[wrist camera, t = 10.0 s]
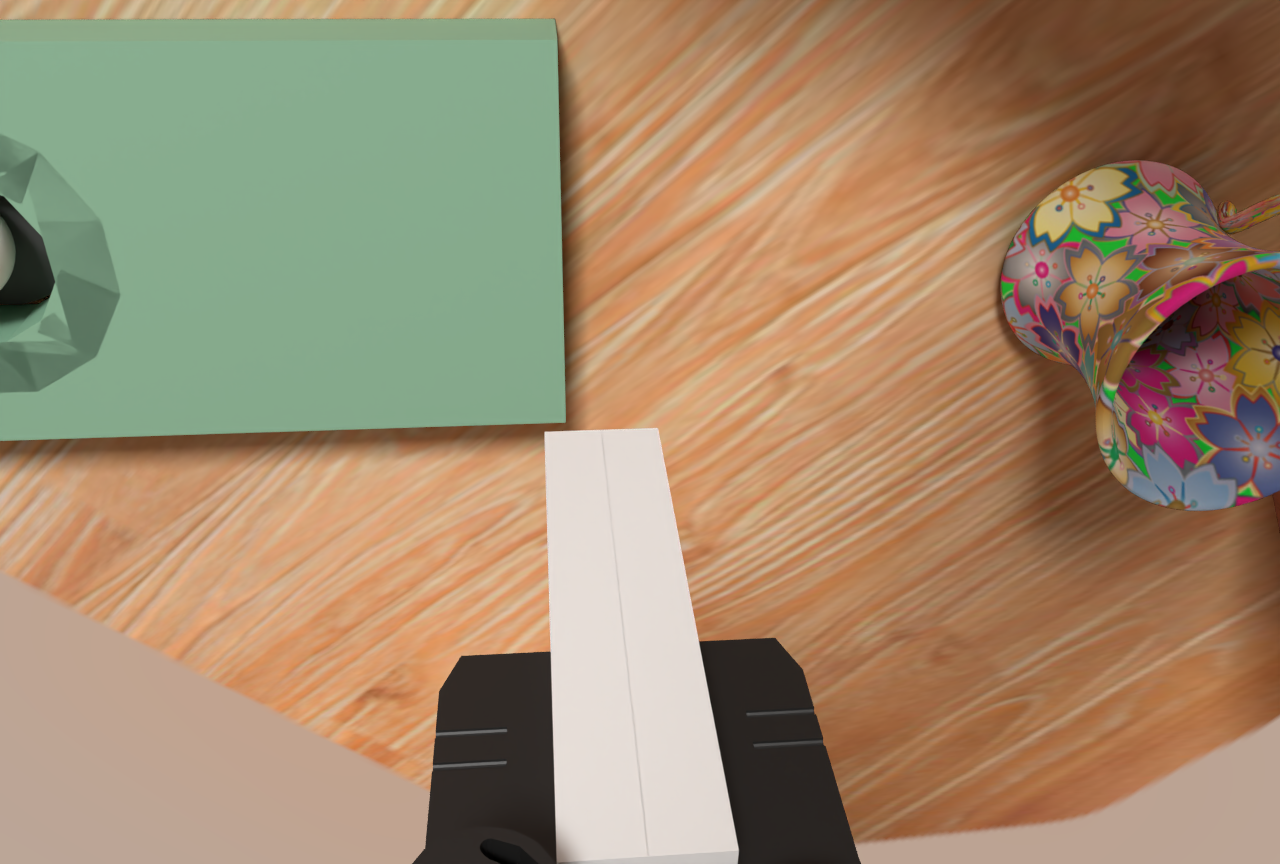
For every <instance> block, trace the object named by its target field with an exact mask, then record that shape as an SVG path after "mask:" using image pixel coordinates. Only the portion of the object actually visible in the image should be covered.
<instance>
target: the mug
mask: <svg viewBox="0 0 1280 864" xmlns="http://www.w3.org/2000/svg"><path fill="white" fill-rule="evenodd" d="M1278 214H1280V194H1278V195H1275V196H1273V197H1270V198H1268V199H1266V200H1263V201H1261V202H1259V203H1257V204H1255V205H1253V206H1251V207H1248V208H1246V209H1244V210H1242V211H1240V212H1238V213H1237V210H1236V208H1235V206H1234V205H1233V204H1232V203H1231V202H1230V201H1223V202H1221V204H1220V205H1219V208H1218V213H1216V210H1215V208H1214V205H1213V203H1212V201H1211V199H1210V198H1209V196H1208V194H1207V193H1206V191H1205V190H1204V189H1203V188H1202V186H1201V185H1200V184H1199V183H1198V182H1197V181H1196V180H1195V179H1193V178H1192V177H1191V176H1189V175H1188V174H1187V173H1185V172H1183V171H1181V170H1179V169H1177V168H1175V167H1172V166H1170V165H1166V164H1162V163H1158V162H1152V161H1142V160H1131V161H1121V162H1114V163H1110V164H1106V165H1102V166H1099V167H1096V168H1093V169H1091V170H1089V171H1086V172H1084V173H1082V174H1080V175H1078V176H1076V177H1074V178H1072V179H1070V180H1069V181H1067V182H1066V183H1064V184H1063V185H1061V186H1060V187H1058V188H1057V189H1056V190H1054V191H1053V192H1052V193H1050V194H1049V195H1048V196H1047V197H1046V198H1045V199H1044V200H1042V201H1041V202H1040V203H1039V204H1038V206H1037V207H1036V208H1035V209H1034V210H1033V211H1032V212H1031V213H1030V215H1029V216H1028V217H1027V218H1026V219H1025V221H1024V222H1023V224H1022V225H1021V227H1020V228H1019V230H1018V231H1017V233H1016V235H1015V237H1014V238H1013V241H1012V243H1011V245H1010V247H1009V249H1008V252H1007V255H1006V257H1005V261H1004V265H1003V269H1002V275H1001V299H1002V305H1003V309H1004V313H1005V316H1006V319H1007V321H1008V323H1009V325H1010V327H1011V329H1012V330H1013V332H1014V333H1015V335H1016V336H1017V337H1018V339H1019V340H1020V341H1021V342H1022V343H1023V344H1024V345H1026V346H1027V347H1028V348H1029V349H1031V350H1032V351H1034V352H1035V353H1037V354H1039V355H1041V356H1043V357H1045V358H1047V359H1049V360H1052V361H1055V362H1059V363H1063V364H1069V365H1072V366H1073V367H1074V368H1076V369H1077V370H1078V371H1079V373H1080V374H1081V375H1082V376H1083V378H1084V379H1085V381H1086V382H1087V384H1088V386H1089V388H1090V390H1091V393H1092V396H1093V399H1094V403H1095V410H1096V433H1097V440H1098V444H1099V448H1100V452H1101V454H1102V457H1103V459H1104V461H1105V463H1106V465H1107V467H1108V468H1109V470H1110V471H1111V473H1112V474H1113V475H1114V476H1115V478H1116V479H1117V480H1118V481H1119V482H1120V483H1121V484H1122V485H1123V486H1124V487H1125V488H1126V489H1128V490H1129V491H1130V492H1132V493H1133V494H1135V495H1137V496H1138V497H1140V498H1142V499H1144V500H1146V501H1149V502H1151V503H1153V504H1156V505H1159V506H1163V507H1166V508H1171V509H1177V510H1186V511H1208V510H1218V509H1224V508H1230V507H1234V506H1239V505H1243V504H1246V503H1249V502H1253V501H1256V500H1258V499H1261V498H1264V497H1266V496H1269V495H1271V494H1273V493H1276V492H1278V491H1280V251H1266V250H1261V249H1256V248H1253V247H1249V246H1247V245H1244V244H1242V243H1240V242H1238V241H1235V240H1234V239H1232V238H1231V237H1229V236H1228V235H1227V234H1225V233H1224V232H1223V231H1225V232H1226V233H1228V234H1235V233H1238V232H1240V231H1243V230H1245V229H1247V228H1250V227H1252V226H1254V225H1256V224H1258V223H1260V222H1263V221H1265V220H1267V219H1269V218H1271V217H1274V216H1276V215H1278ZM1219 225H1220V226H1219ZM1220 227H1221V228H1222V229H1223V231H1222V230H1221V229H1220Z"/></svg>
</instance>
